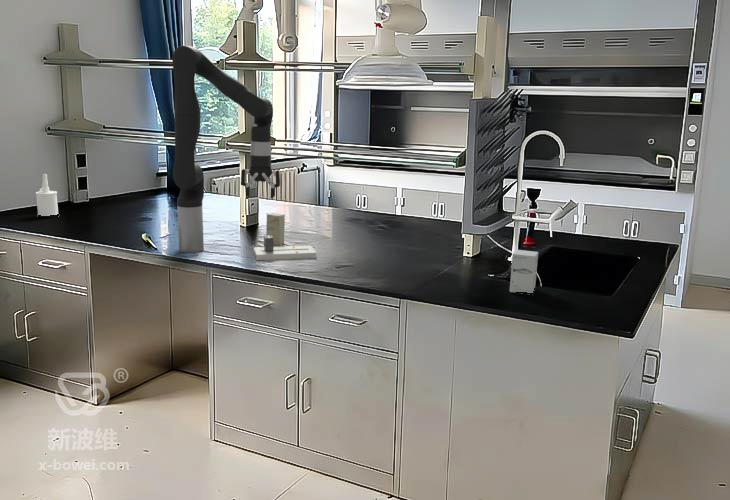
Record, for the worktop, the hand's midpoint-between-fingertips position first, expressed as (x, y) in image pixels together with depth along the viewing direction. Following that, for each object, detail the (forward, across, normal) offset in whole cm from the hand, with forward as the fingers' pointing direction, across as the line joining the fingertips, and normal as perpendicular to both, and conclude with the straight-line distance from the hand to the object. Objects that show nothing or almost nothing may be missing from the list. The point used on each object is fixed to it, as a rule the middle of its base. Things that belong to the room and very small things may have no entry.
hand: (260, 197), depth 260 cm
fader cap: (+19, +3, -3) cm, 20 cm away
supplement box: (+20, +89, -45) cm, 102 cm away
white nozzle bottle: (+24, -108, +70) cm, 131 cm away
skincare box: (+22, +4, +18) cm, 28 cm away
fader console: (+21, +9, -2) cm, 23 cm away
